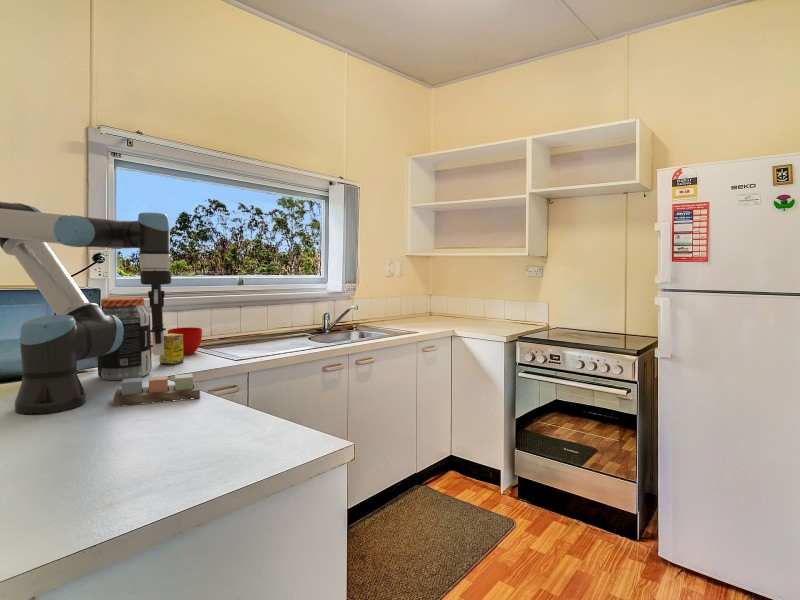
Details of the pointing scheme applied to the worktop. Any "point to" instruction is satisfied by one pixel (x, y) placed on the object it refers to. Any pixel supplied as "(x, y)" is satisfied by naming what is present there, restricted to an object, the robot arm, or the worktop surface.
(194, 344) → the ceramic cup
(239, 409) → the worktop surface
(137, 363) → the supplement tub
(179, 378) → the sage block
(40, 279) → the robot arm
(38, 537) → the worktop surface
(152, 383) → the terracotta block
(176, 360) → the supplement box
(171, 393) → the wooden block tray
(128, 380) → the slate block
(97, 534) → the worktop surface
